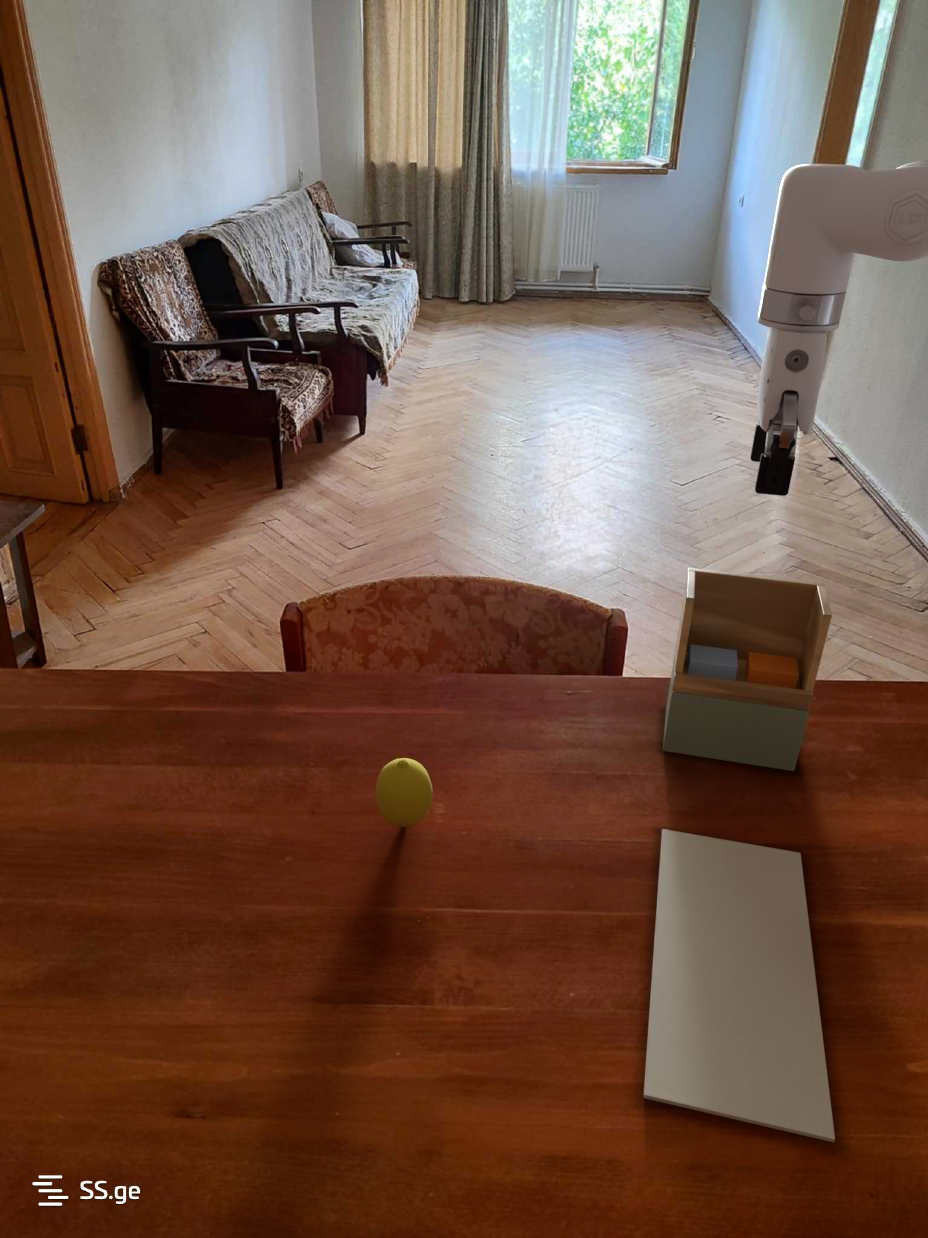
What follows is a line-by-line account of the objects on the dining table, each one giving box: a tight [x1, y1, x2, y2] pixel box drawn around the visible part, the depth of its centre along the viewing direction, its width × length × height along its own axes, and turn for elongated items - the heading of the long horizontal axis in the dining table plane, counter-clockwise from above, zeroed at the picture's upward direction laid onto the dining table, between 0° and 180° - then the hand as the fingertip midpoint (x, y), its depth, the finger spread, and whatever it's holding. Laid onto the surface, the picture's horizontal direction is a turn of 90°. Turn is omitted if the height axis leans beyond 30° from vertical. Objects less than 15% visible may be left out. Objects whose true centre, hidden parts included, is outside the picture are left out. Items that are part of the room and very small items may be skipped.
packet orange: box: [745, 652, 799, 689], centre depth 95 cm, size 4×5×2 cm
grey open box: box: [662, 654, 810, 772], centre depth 98 cm, size 8×14×8 cm, turn 76°
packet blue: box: [687, 644, 738, 681], centre depth 96 cm, size 4×5×2 cm
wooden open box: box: [672, 567, 833, 712], centre depth 93 cm, size 8×14×11 cm, turn 76°
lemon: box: [374, 757, 433, 828], centre depth 86 cm, size 6×6×8 cm
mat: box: [643, 828, 836, 1143], centre depth 74 cm, size 28×13×1 cm, turn 166°
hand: (767, 476), depth 93 cm, fingers open, 9 cm apart
